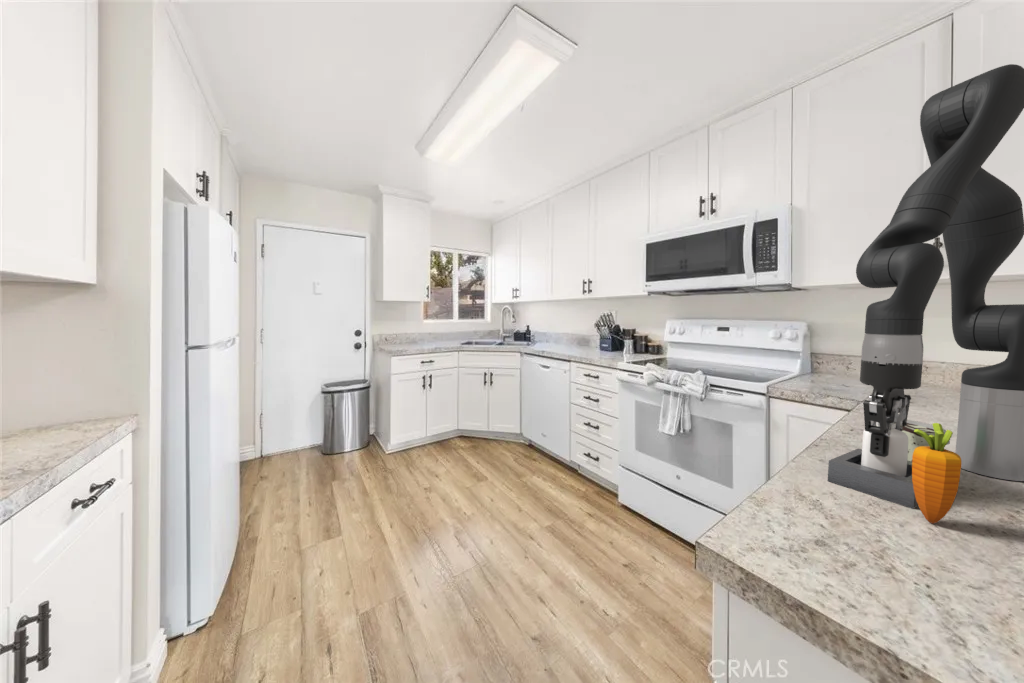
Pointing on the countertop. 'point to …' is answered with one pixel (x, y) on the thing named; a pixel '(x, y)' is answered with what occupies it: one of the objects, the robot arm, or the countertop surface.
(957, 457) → the carrot
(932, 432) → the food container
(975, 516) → the countertop surface
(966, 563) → the countertop surface
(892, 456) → the eye dropper bottle
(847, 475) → the grey square frame
